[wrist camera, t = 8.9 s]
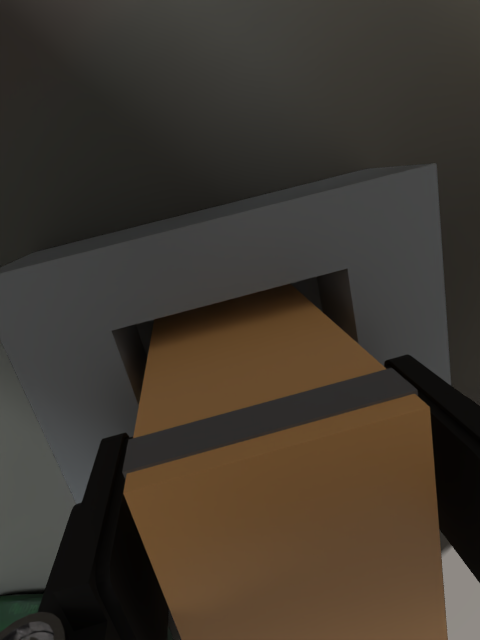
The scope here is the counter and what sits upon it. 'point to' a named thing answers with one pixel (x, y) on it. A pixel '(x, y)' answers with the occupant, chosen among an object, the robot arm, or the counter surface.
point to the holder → (221, 292)
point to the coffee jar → (23, 608)
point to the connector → (284, 479)
